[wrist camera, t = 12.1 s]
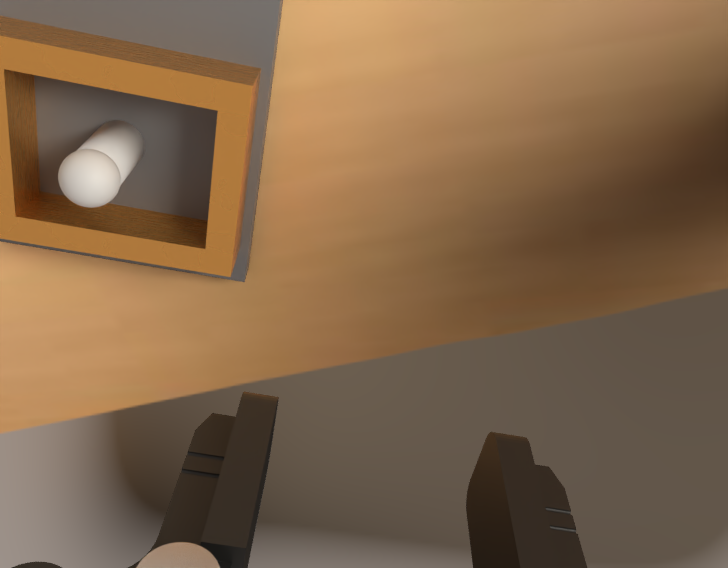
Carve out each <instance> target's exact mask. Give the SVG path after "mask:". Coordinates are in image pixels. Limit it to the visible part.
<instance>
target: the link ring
mask: <svg viewBox="0 0 728 568" xmlns="http://www.w3.org/2000/svg"><path fill="white" fill-rule="evenodd" d="M260 74H261V68H256V67H251V66H246V65H241V64H236V63H231V62H226V61H222V60H217V59H212V58H207V57H202V56H197V55H192V54H187V53H182V52H177V51H172V50H167V49H162V48H157V47H153V46H148V45H143V44H138V43H133V42H128V41H123V40H118V39H113V38H108V37H103V36H98V35H93V34H88V33H84V32H79V31H74V30H69V29H64V28H59V27H54V26H49V25H44V24H39V23H34V22H29V21H24V20H19V19H14V18H10V17H5V16H0V239H6V240H12V241H18V242H24V243H30V244H36V245H42V246H48V247H54V248H60V249H66V250H72V251H78V252H84V253H90V254H95V255H101V256H107V257H113V258H119V259H125V260H131V261H137V262H143V263H149V264H155V265H161V266H167V267H173V268H179V269H185V270H191V271H197V272H203V273H209V274H215V275H221V276H226V277H231V274H232V271H233V268H234V265H235V262H236V259H237V255H238V252H239V249H240V241H241V233H242V224H243V216H244V208H245V199H246V191H247V183H248V174H249V166H250V158H251V149H252V141H253V133H254V124H255V116H256V108H257V99H258V91H259V83H260ZM34 75H37V76H42V77H47V78H52V79H58V80H63V81H68V82H73V83H78V84H83V85H88V86H94V87H99V88H104V89H109V90H114V91H119V92H124V93H130V94H135V95H140V96H145V97H150V98H155V99H160V100H166V101H171V102H176V103H181V104H186V105H191V106H196V107H201V108H207V109H212V110H217V111H218V113H217V124H216V135H215V146H214V158H213V169H212V180H211V191H210V203H209V214H208V221H206V220H201V219H195V218H189V217H184V216H178V215H172V214H167V213H161V212H155V211H150V210H144V209H138V208H133V207H127V206H121V205H116V204H110V203H107V204H105V205H103V206H100V207H94V208H89V207H83V206H80V205H77V204H75V203H73V202H72V201H71V200H69V199H68V198H67V197H66V196H65V195H59V194H53V193H48V192H42V191H41V190H40V173H39V155H38V137H37V120H36V102H35V84H34Z"/></svg>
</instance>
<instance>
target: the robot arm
mask: <svg viewBox="0 0 728 568" xmlns="http://www.w3.org/2000/svg"><path fill="white" fill-rule="evenodd" d="M278 399H279V398H278V397H274V396H268V395H261V394H255V393H249V392H243V394H242V397H241V401H240V404H239V408H238V411H237V415H236V417H233V416H227V415H221V414H214V413H212V414H211V415H210V416H209V417H208V418H207V419H206V420H205V421H204V422H203V423H202V424H201V425H200V426H199V427H198V428H197V429H196V430H195V433H194V436H193V439H192V442H191V444H190V447H189V450H188V454H187V456H186V459H185V461H184V464H183V467H182V472H181V473H180V476H179V479H178V481H177V484H176V487H175V490H174V493H173V496H172V499H171V501H170V505H169V507H168V510H167V513H166V516H165V519H164V522H163V524H162V527H161V530H160V533H159V536H158V538H157V540H156V543H155V544H154V546H153V547H152V549H151V550H150V551H149V552H148V553H147V555H146V556H145V557H144V558H142V559H141V560H140V561H138V562H137V563H136V564H134V565H132V566H130V567H128V568H248V563H249V558H250V552H251V548H252V543H253V538H254V532H255V528H256V523H257V519H258V514H259V509H260V504H261V499H262V494H263V489H264V484H265V480H266V474H267V469H268V464H269V458H270V452H271V445H272V439H273V432H274V426H275V419H276V412H277V406H278ZM466 511H467V521H468V529H469V537H470V545H471V554H472V562H473V568H587V565H586V562H585V558H584V555H583V552H582V548H581V545H580V541H579V538H578V534H576V527H575V523H574V520H573V516H572V515H571V514H570V512H571V509H570V506H569V502H568V499H567V495H566V492H565V488H564V487H563V486H562V484H561V483H560V482H559V480H558V479H557V477H556V476H555V474H554V473H553V472H552V470H551V469H550V468H549V467H546V466H540V465H535V464H534V460H533V456H532V452H531V447H530V444H529V441H528V439H527V438H525V437H520V436H514V435H507V434H501V433H495V432H490V433H489V434H488V436H487V438H486V440H485V443H484V445H483V448H482V451H481V453H480V456H479V459H478V461H477V464H476V466H475V469H474V472H473V474H472V477H471V479H470V482H469V486H468V491H467V500H466ZM13 568H61V567H60V566H57V565H55V564H52V563H47V562H30V563H25V564H21V565H18V566H15V567H13Z"/></svg>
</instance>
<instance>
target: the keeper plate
mask: <svg viewBox="0 0 728 568" xmlns="http://www.w3.org/2000/svg"><path fill="white" fill-rule="evenodd" d="M282 4H283V0H0V16H5V17H10V18H14V19H19V20H24V21H29V22H34V23H39V24H44V25H49V26H54V27H59V28H64V29H69V30H74V31H79V32H84V33H88V34H93V35H98V36H103V37H108V38H113V39H118V40H123V41H128V42H133V43H138V44H143V45H148V46H153V47H157V48H162V49H167V50H172V51H177V52H182V53H187V54H192V55H197V56H202V57H207V58H212V59H217V60H222V61H226V62H231V63H236V64H241V65H246V66H251V67H256V68H261V74H260V83H259V91H258V99H257V108H256V116H255V124H254V133H253V141H252V149H251V158H250V166H249V174H248V183H247V191H246V199H245V208H244V216H243V224H242V233H241V241H240V249H239V252H238V255H237V259H236V262H235V265H234V268H233V271H232V274H231V277H226V276H221V275H215V274H209V273H203V272H197V271H191V270H185V269H179V268H173V267H167V266H161V265H155V264H149V263H143V262H137V261H131V260H125V259H119V258H113V257H107V256H101V255H95V254H90V253H84V252H78V251H72V250H66V249H60V248H54V247H48V246H42V245H36V244H30V243H24V242H18V241H12V240H6V239H0V241H2V242H8V243H14V244H20V245H26V246H32V247H38V248H44V249H50V250H56V251H62V252H68V253H74V254H80V255H86V256H92V257H98V258H104V259H110V260H116V261H122V262H128V263H134V264H140V265H146V266H152V267H158V268H164V269H170V270H176V271H182V272H188V273H194V274H200V275H206V276H212V277H218V278H224V279H229V280H235V281H241V282H245V278H246V275H247V271H248V266H249V259H250V251H251V243H252V235H253V228H254V220H255V212H256V205H257V197H258V189H259V181H260V174H261V166H262V158H263V150H264V143H265V135H266V127H267V120H268V112H269V104H270V96H271V89H272V81H273V73H274V65H275V58H276V50H277V42H278V35H279V27H280V19H281V11H282ZM34 84H35V102H36V120H37V137H38V155H39V173H40V190H41V191H42V192H48V193H53V194H59V195H65V196H66V197H67V198H68V199H69V200H71V201H72V202H73V203H75V204H77V205H80V206H83V207H89V208H94V207H100V206H103V205H105V204H107V203H110V204H116V205H121V206H127V207H133V208H138V209H144V210H150V211H155V212H161V213H167V214H172V215H178V216H184V217H189V218H195V219H201V220H206V221H208V214H209V203H210V191H211V180H212V169H213V158H214V146H215V135H216V124H217V113H218V111H217V110H212V109H207V108H201V107H196V106H191V105H186V104H181V103H176V102H171V101H166V100H160V99H155V98H150V97H145V96H140V95H135V94H130V93H124V92H119V91H114V90H109V89H104V88H99V87H94V86H88V85H83V84H78V83H73V82H68V81H63V80H58V79H52V78H47V77H42V76H37V75H34Z"/></svg>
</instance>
